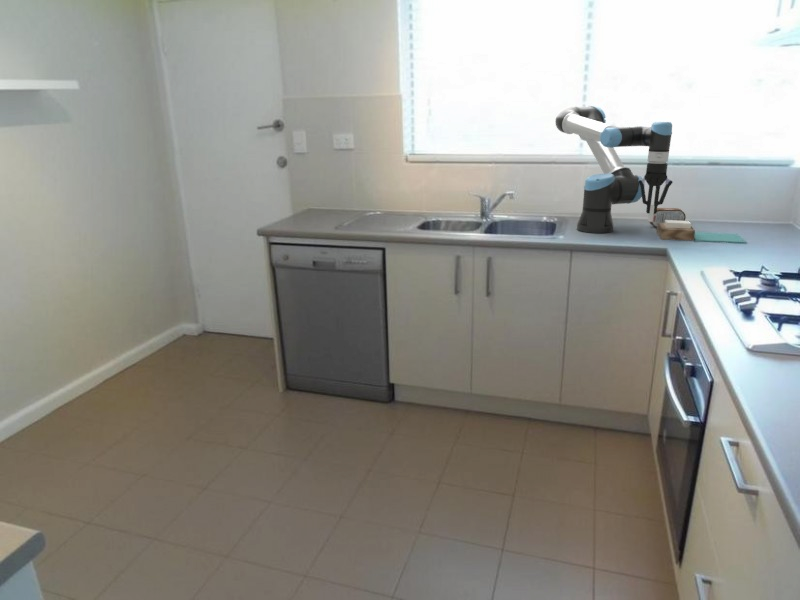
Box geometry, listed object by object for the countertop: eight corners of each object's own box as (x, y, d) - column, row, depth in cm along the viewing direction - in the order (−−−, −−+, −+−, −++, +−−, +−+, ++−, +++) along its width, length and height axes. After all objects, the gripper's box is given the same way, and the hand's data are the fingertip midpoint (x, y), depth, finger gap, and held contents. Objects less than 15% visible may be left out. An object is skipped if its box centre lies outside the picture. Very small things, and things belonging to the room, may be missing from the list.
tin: (682, 226, 253) (685, 207, 250) (685, 228, 250) (687, 209, 247) (647, 226, 254) (649, 207, 252) (649, 228, 251) (651, 208, 249)
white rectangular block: (666, 227, 232) (666, 222, 231) (664, 224, 237) (664, 219, 237) (690, 228, 229) (691, 223, 229) (688, 225, 235) (688, 220, 234)
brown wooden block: (660, 239, 230) (662, 229, 229) (656, 232, 243) (657, 222, 241) (693, 240, 227) (695, 230, 225) (687, 233, 239) (689, 224, 238)
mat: (695, 241, 226) (695, 239, 225) (688, 233, 240) (688, 231, 240) (746, 243, 220) (747, 242, 220) (736, 235, 235) (737, 233, 235)
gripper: (640, 163, 227) (633, 222, 234) (676, 163, 223) (668, 223, 230) (639, 161, 233) (632, 219, 241) (674, 161, 230) (666, 220, 237)
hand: (650, 221), depth 235 cm, fingers closed
